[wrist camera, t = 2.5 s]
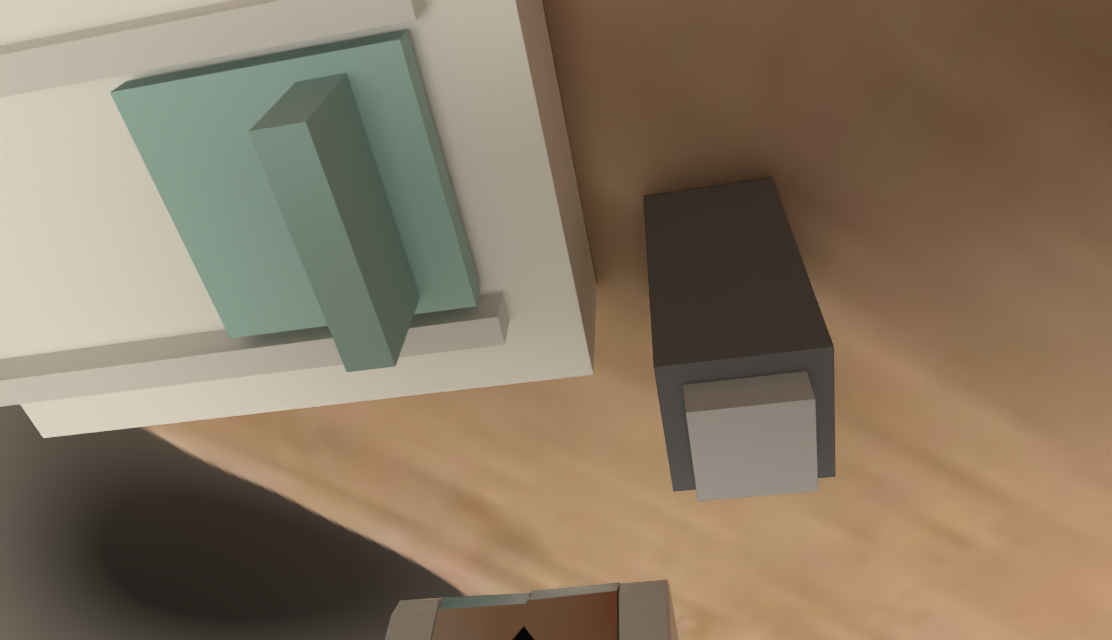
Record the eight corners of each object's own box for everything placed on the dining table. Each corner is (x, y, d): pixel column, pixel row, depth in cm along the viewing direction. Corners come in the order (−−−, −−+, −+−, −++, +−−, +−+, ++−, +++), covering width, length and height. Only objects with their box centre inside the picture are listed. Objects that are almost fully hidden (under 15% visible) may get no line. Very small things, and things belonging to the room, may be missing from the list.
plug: (772, 177, 26) (843, 374, 18) (777, 285, 28) (844, 506, 20) (643, 195, 27) (655, 395, 19) (658, 300, 29) (675, 520, 21)
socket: (506, -188, 21) (471, -167, 16) (596, 284, 29) (592, 400, 24) (-113, -51, 24) (-312, 4, 19) (118, 347, 31) (21, 463, 26)
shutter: (407, 29, 19) (366, 84, 16) (480, 289, 23) (458, 376, 20) (126, 81, 20) (36, 142, 17) (241, 322, 24) (184, 409, 21)
